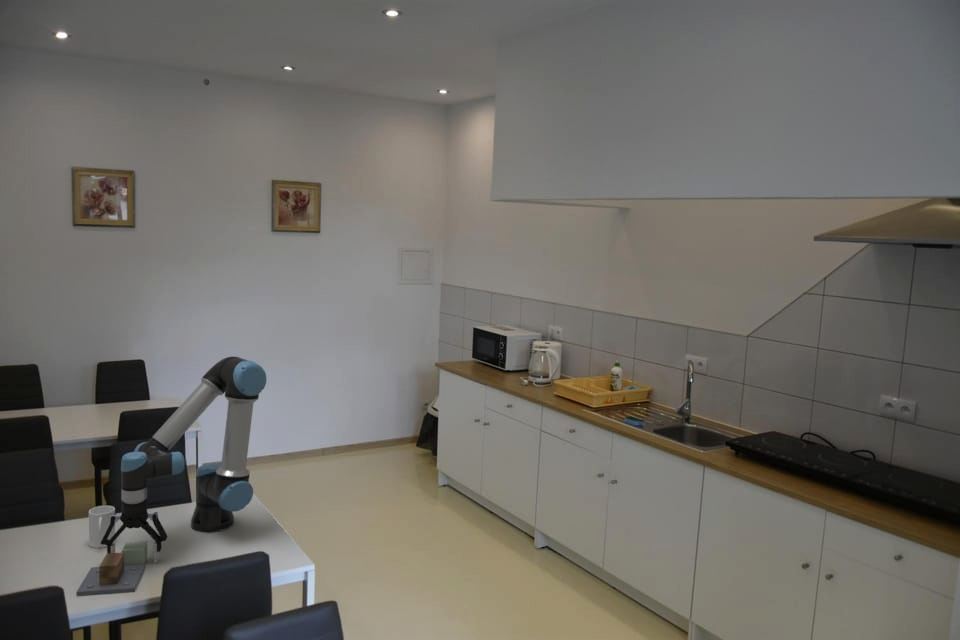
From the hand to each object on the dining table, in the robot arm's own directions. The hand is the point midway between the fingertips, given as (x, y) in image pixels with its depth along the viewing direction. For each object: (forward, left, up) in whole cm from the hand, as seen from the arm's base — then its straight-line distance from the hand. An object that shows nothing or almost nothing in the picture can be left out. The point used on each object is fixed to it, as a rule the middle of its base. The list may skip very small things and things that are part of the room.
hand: (134, 562), depth 235 cm
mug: (+14, -16, 0) cm, 21 cm away
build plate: (+4, +12, 0) cm, 13 cm away
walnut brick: (+4, +12, +1) cm, 13 cm away
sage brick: (0, 0, 0) cm, 0 cm away
